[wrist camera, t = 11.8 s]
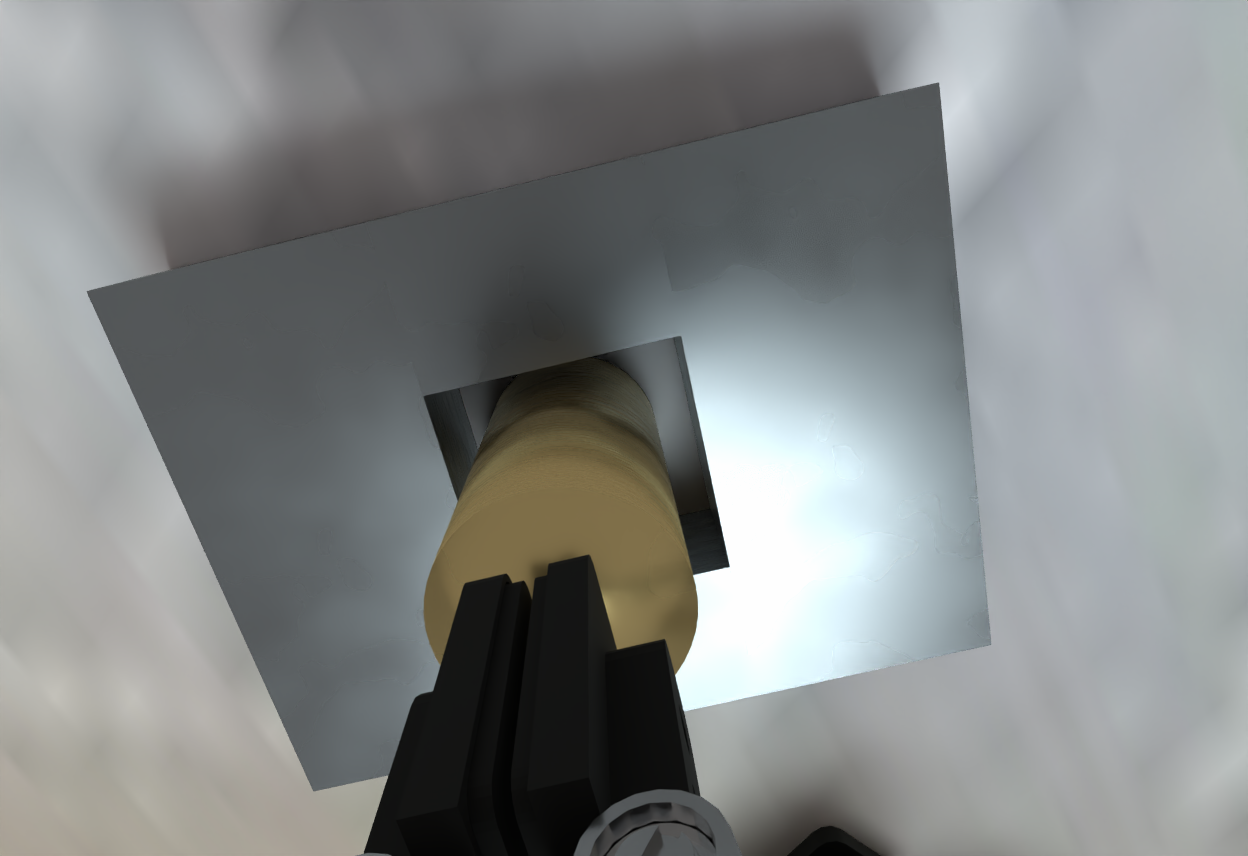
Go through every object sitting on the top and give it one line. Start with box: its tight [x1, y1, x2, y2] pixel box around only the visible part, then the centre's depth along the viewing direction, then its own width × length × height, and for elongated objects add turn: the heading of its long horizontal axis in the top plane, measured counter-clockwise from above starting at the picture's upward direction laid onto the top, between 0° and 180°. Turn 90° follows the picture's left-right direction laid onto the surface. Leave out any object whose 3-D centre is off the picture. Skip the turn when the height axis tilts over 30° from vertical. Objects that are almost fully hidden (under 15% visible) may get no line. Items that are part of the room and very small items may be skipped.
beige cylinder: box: [423, 357, 698, 675], centre depth 15 cm, size 4×4×8 cm
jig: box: [87, 83, 991, 791], centre depth 18 cm, size 16×12×3 cm
